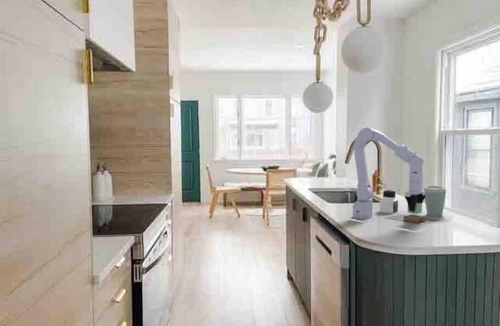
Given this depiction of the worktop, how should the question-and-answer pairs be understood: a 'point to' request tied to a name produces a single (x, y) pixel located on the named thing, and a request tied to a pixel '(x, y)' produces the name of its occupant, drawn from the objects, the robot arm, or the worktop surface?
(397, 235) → the worktop surface
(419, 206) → the green cube
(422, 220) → the stacking base
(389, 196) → the medicine bottle
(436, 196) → the disposable coffee cup
